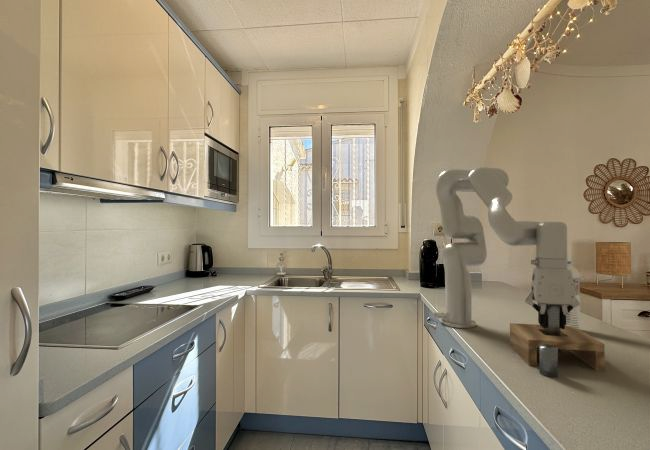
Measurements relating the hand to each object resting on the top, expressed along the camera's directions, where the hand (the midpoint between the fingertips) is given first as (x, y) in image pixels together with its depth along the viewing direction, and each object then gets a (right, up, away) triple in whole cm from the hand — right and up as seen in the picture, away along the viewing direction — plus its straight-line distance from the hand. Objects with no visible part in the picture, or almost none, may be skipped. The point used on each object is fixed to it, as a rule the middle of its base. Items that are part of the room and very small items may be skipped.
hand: (552, 326), depth 99 cm
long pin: (0, -7, 0) cm, 7 cm away
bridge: (0, -9, 0) cm, 9 cm away
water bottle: (+23, -9, +26) cm, 36 cm away
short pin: (-9, -9, -11) cm, 17 cm away
